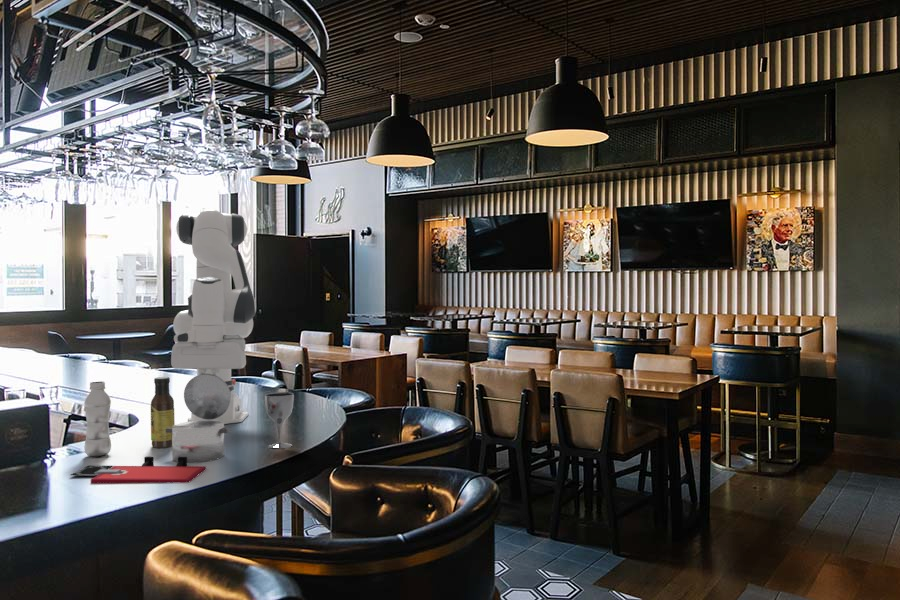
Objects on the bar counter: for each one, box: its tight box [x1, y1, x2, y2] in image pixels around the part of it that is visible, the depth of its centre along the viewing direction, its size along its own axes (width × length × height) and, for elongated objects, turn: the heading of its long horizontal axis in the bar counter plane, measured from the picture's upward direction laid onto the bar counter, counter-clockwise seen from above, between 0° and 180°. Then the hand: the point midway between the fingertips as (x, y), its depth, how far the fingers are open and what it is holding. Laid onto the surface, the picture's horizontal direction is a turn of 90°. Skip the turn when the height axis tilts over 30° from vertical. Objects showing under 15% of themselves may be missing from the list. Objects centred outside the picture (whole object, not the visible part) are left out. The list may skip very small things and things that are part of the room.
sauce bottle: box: [150, 376, 176, 449], centre depth 189 cm, size 6×6×20 cm
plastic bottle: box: [84, 381, 112, 457], centre depth 178 cm, size 6×7×20 cm
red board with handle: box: [70, 455, 207, 484], centre depth 159 cm, size 30×3×15 cm
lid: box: [183, 374, 231, 420], centre depth 183 cm, size 13×13×3 cm
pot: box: [166, 421, 232, 464], centre depth 177 cm, size 14×17×8 cm
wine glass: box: [264, 391, 295, 449], centre depth 188 cm, size 8×8×15 cm
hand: (209, 384), depth 183 cm, fingers closed, pressing on lid
